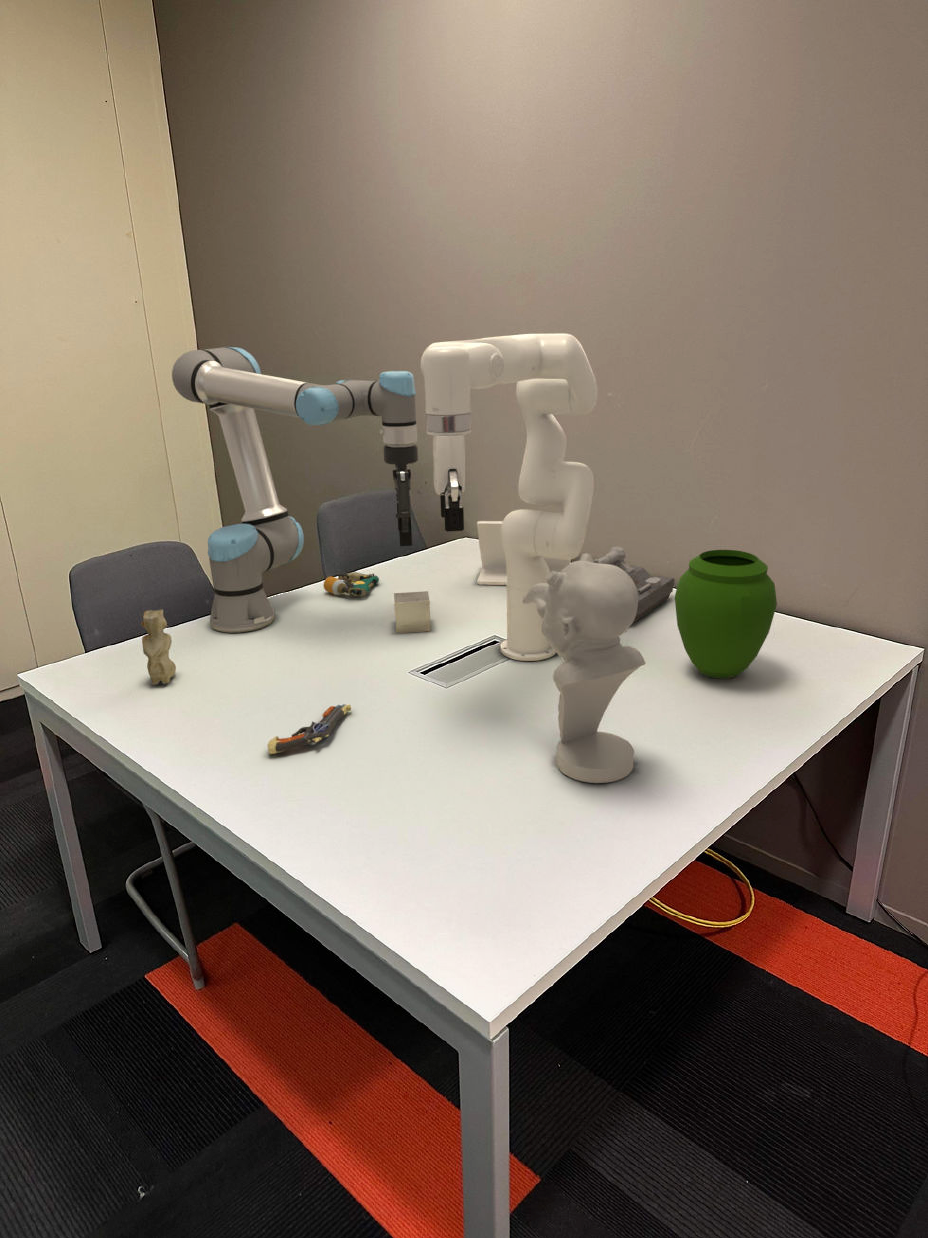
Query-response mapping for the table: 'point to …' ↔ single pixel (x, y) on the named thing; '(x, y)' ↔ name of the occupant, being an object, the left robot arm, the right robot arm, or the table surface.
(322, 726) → the toy gun
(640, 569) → the toy
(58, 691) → the table surface
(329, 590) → the spray gun
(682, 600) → the vase
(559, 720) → the bust sculpture
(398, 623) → the block
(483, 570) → the tablet stand
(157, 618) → the sculpture
